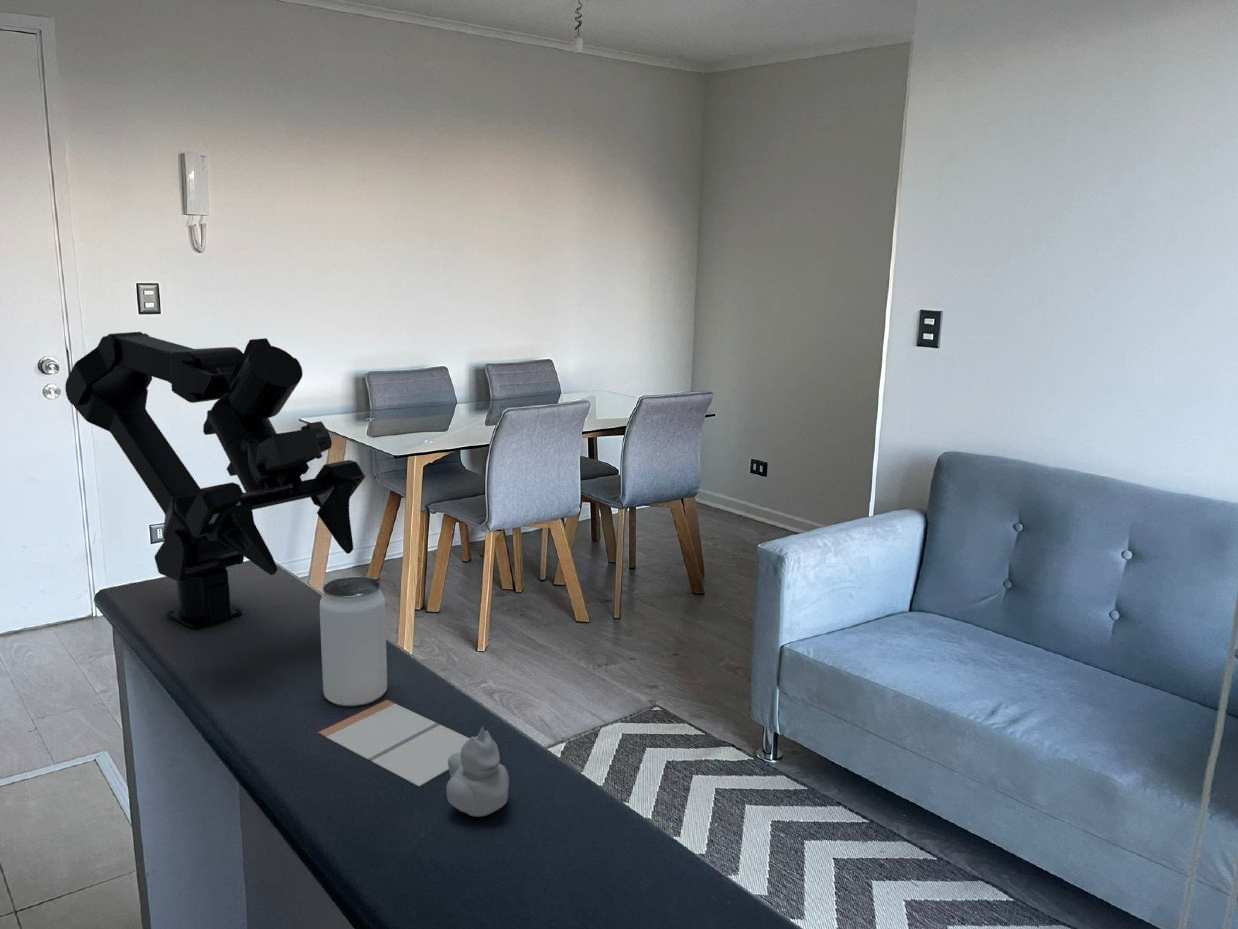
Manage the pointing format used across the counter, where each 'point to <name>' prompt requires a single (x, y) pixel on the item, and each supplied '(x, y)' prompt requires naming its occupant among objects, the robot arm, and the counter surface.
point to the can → (353, 641)
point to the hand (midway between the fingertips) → (313, 561)
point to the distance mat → (398, 741)
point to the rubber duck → (477, 777)
